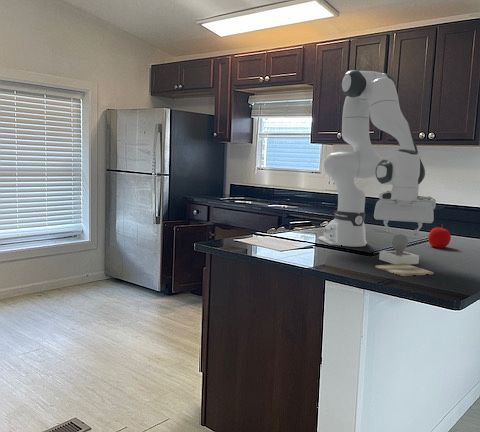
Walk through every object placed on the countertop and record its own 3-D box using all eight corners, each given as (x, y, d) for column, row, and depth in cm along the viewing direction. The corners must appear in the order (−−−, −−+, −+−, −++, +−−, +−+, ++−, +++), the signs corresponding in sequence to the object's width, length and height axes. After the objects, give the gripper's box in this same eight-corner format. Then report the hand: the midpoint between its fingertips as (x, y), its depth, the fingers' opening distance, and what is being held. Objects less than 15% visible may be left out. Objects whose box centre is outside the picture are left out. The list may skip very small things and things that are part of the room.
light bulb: (403, 260, 176) (405, 233, 175) (408, 263, 171) (411, 235, 170) (388, 259, 176) (390, 232, 175) (393, 263, 171) (396, 235, 170)
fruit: (451, 250, 203) (454, 226, 201) (429, 248, 204) (431, 225, 203) (447, 246, 212) (449, 223, 210) (425, 244, 213) (427, 222, 212)
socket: (379, 259, 176) (379, 251, 176) (399, 258, 180) (400, 250, 180) (397, 265, 167) (398, 256, 167) (418, 263, 171) (419, 255, 171)
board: (375, 267, 163) (375, 265, 163) (405, 265, 168) (405, 263, 168) (402, 276, 151) (402, 274, 151) (433, 274, 156) (433, 272, 156)
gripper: (436, 196, 170) (433, 235, 171) (376, 193, 177) (374, 230, 178) (436, 197, 164) (433, 237, 165) (374, 194, 171) (372, 232, 172)
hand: (402, 233), depth 172 cm, fingers open, 8 cm apart
